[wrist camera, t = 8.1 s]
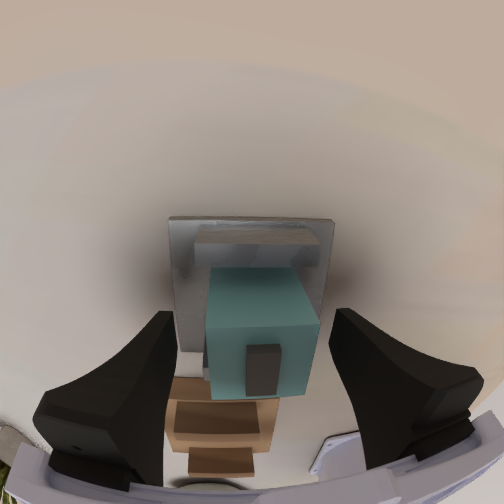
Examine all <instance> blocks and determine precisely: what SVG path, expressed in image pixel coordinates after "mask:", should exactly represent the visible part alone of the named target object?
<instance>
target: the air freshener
mask: <svg viewBox="0 0 504 504" xmlns="http://www.w3.org/2000/svg"><path fill="white" fill-rule="evenodd" d="M178 489H190V490H214V491H231V490H239V489H237V488H235V487H232V486H231V485H228V484H223V483H195V484H190V485H186V486H183V487H180V488H178Z"/></svg>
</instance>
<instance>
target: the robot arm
mask: <svg viewBox="0 0 504 504" xmlns="http://www.w3.org/2000/svg"><path fill="white" fill-rule="evenodd" d="M328 344H329V348H330V351H331V355H332V358H333V361H334V364H335V366H336V368H337V371H338V373H339V375H340V377H341V380H342V382H343V384H344V386H345V389H346V391H347V393H348V395H349V398H350V400H351V403H352V406H353V409H354V412H355V416H356V419H357V423H358V427H359V431H360V432H355V433H351V434H346V435H341V436H336V437H331V438H328V439H327V440H326V441H325V443H324V445H323V447H322V449H321V451H320V453H319V454H318V456H317V458H316V460H315V462H314V464H313V466H312V467H311V469H310V471H309V474H310V475H314V474H318V478H319V482H314V483H309V484H302V485H295V486H288V487H279V488H269V489H256V490H231V491H214V490H190V489H177V488H167V487H163V446H164V429H165V416H166V410H167V404H168V400H169V395H170V390H171V386H172V382H173V377H174V373H175V368H176V360H177V350H178V345H177V339H176V331H175V324H174V316H173V311H158V312H157V313H156V315H155V316H154V317H153V318H152V319H151V320H150V321H149V322H148V323H147V325H146V326H145V327H144V328H143V329H142V330H141V331H140V332H139V333H138V334H137V335H136V336H135V337H134V338H133V339H132V340H131V341H130V342H129V343H128V344H127V345H126V346H125V347H124V348H123V349H122V350H121V351H120V352H118V353H117V354H116V355H115V356H113V357H112V358H111V359H109V360H108V361H107V362H105V363H104V364H102V365H101V366H99V367H98V368H96V369H94V370H93V371H91V372H90V373H88V374H86V375H84V376H82V377H80V378H78V379H76V380H74V381H72V382H70V383H68V384H65V385H63V386H60V387H57V388H55V389H52V390H49V391H46V392H45V393H44V395H43V397H42V399H41V401H40V403H39V405H38V407H37V409H36V411H35V413H34V416H33V419H32V420H33V423H34V426H35V427H36V429H37V430H38V432H39V433H40V434H41V435H42V437H43V438H44V439H45V440H46V441H47V442H48V444H49V445H50V446H51V447H52V448H53V451H52V454H51V455H50V454H48V453H47V452H45V451H43V450H41V449H38V448H36V447H33V446H31V445H29V444H26V443H24V442H21V444H20V447H19V449H18V452H17V454H16V457H15V459H14V462H13V465H12V467H11V470H10V473H9V476H8V479H7V482H6V485H5V488H4V490H5V492H7V493H8V494H10V495H11V496H12V497H14V498H15V499H17V500H18V501H20V502H21V503H23V504H436V503H438V502H440V501H441V500H443V499H445V498H446V497H448V496H450V495H451V494H453V493H455V492H456V491H458V490H459V489H461V488H463V487H464V486H466V485H467V484H469V483H470V482H472V481H473V480H475V479H476V478H478V477H479V476H480V475H482V474H483V473H484V472H485V471H487V470H488V469H489V468H490V467H491V466H493V465H494V464H495V463H496V462H497V461H498V460H499V459H500V458H502V457H503V455H504V428H503V427H502V425H501V424H500V422H499V421H498V419H497V418H496V417H495V415H494V414H493V412H492V411H491V410H489V411H487V412H486V413H484V414H483V415H481V416H479V417H477V418H476V419H474V420H473V421H472V422H470V420H469V419H468V418H469V417H470V416H471V413H470V411H469V410H468V408H469V407H470V406H471V404H472V403H473V401H474V400H475V399H476V397H477V396H478V394H479V393H480V391H481V390H482V387H483V384H484V379H483V378H482V376H481V375H480V374H479V373H478V371H477V370H476V369H475V368H474V367H469V366H464V365H458V364H454V363H450V362H446V361H443V360H440V359H437V358H434V357H431V356H429V355H426V354H424V353H421V352H419V351H417V350H415V349H413V348H411V347H409V346H407V345H405V344H403V343H401V342H399V341H398V340H396V339H394V338H393V337H391V336H389V335H388V334H386V333H385V332H383V331H382V330H380V329H379V328H377V327H376V326H375V325H373V324H372V323H370V322H369V321H367V320H366V319H365V318H363V317H362V316H360V315H359V314H358V313H356V312H355V311H353V310H351V309H350V308H339V309H336V314H335V318H334V322H333V327H332V331H331V335H330V339H329V343H328Z"/></svg>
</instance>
